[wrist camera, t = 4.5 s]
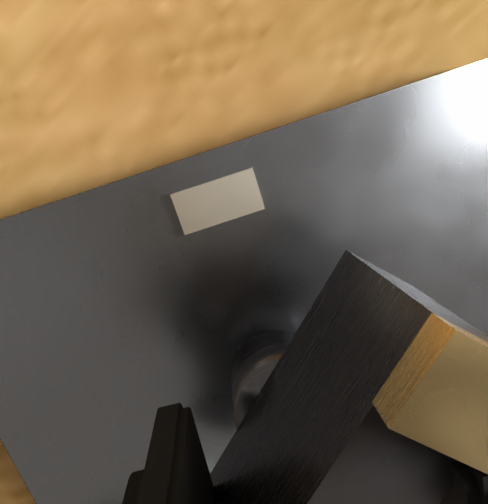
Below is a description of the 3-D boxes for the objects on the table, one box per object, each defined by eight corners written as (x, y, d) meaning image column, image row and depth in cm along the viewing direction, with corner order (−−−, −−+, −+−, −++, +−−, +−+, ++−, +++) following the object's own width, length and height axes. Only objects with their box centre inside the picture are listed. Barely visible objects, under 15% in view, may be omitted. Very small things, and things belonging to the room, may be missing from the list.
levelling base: (111, 543, 17) (76, 675, 13) (-48, 236, 14) (-169, 274, 9) (515, 411, 17) (618, 499, 13) (457, 68, 14) (571, 29, 9)
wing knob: (245, 495, 14) (274, 808, 7) (170, 465, 13) (128, 772, 7) (388, 268, 12) (594, 404, 6) (310, 225, 12) (434, 318, 5)
